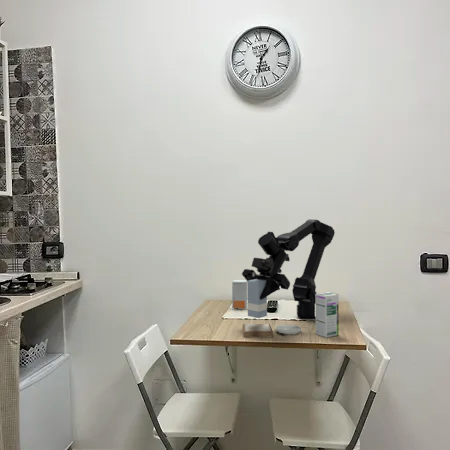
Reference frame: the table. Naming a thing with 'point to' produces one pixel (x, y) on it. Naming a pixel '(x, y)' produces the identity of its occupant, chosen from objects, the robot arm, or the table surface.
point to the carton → (256, 299)
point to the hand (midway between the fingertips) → (254, 297)
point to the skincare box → (239, 294)
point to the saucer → (288, 329)
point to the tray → (257, 330)
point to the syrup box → (327, 314)
